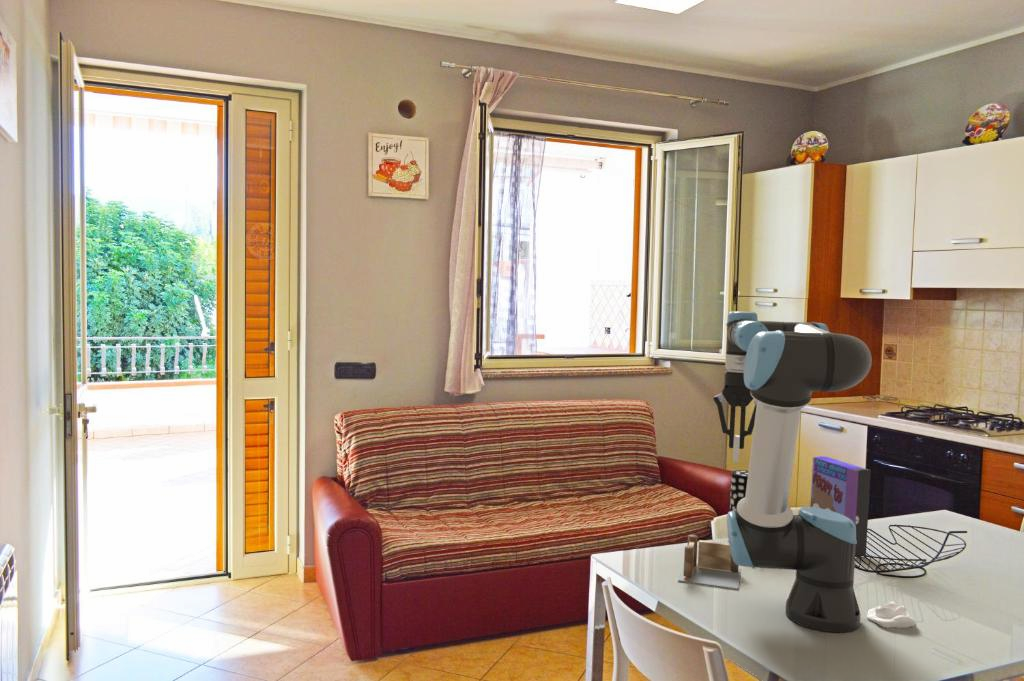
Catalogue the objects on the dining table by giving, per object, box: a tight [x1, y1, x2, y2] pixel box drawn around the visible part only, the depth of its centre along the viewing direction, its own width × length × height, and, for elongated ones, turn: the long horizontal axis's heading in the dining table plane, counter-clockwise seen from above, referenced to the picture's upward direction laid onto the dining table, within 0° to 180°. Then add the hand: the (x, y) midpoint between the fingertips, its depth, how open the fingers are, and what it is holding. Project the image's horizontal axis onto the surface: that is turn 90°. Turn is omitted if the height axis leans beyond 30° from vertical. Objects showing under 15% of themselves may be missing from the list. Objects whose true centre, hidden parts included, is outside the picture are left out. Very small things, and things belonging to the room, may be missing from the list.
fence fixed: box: [687, 534, 740, 572], centre depth 200 cm, size 13×2×8 cm, turn 72°
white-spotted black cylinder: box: [728, 469, 749, 543], centre depth 222 cm, size 8×8×20 cm
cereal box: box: [809, 455, 872, 558], centre depth 221 cm, size 17×5×24 cm, turn 17°
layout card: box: [677, 563, 742, 591], centre depth 196 cm, size 14×14×1 cm
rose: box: [866, 601, 917, 629], centre depth 171 cm, size 10×4×10 cm
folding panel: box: [683, 542, 695, 577], centre depth 196 cm, size 9×2×7 cm, turn 162°
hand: (735, 460), depth 207 cm, fingers closed
